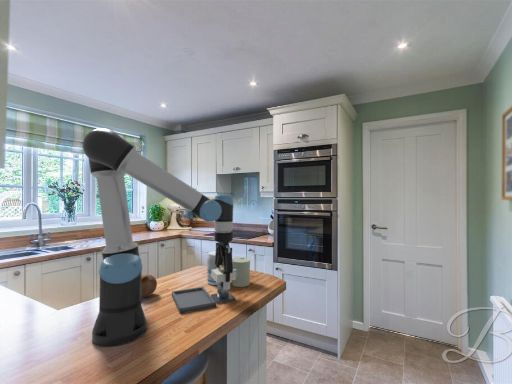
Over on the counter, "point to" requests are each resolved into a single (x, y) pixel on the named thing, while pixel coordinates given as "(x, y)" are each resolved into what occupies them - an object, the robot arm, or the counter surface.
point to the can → (241, 272)
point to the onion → (148, 285)
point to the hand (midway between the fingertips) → (223, 285)
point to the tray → (192, 299)
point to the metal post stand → (222, 292)
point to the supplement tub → (211, 268)
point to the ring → (219, 276)
